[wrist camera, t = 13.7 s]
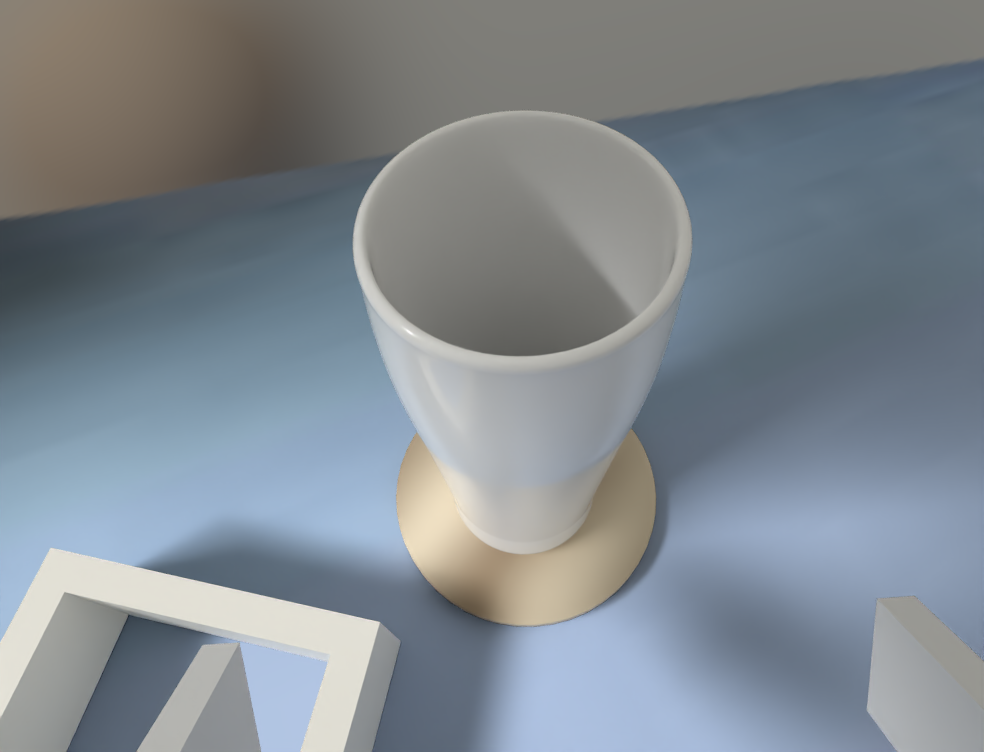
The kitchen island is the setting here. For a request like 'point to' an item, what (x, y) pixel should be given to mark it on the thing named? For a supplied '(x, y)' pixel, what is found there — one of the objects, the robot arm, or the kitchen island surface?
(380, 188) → the white cup
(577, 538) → the wooden coaster
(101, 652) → the square holder
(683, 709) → the kitchen island surface
